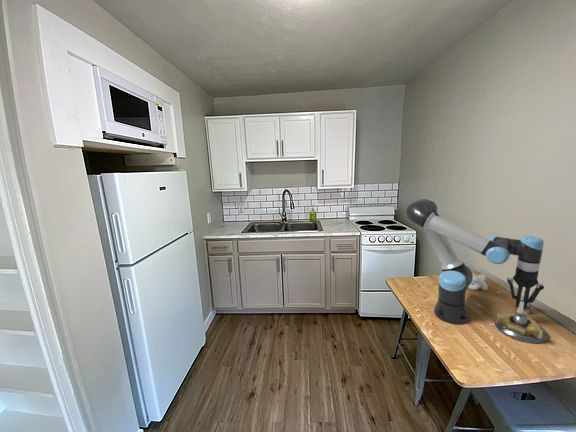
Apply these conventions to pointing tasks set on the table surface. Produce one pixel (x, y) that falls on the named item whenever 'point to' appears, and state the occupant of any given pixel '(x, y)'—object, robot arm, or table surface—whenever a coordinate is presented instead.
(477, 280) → the white knot sculpture
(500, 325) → the hub plate
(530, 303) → the pill bottle
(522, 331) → the taped hex socket base
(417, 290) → the table surface
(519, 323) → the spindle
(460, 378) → the table surface
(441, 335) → the table surface
